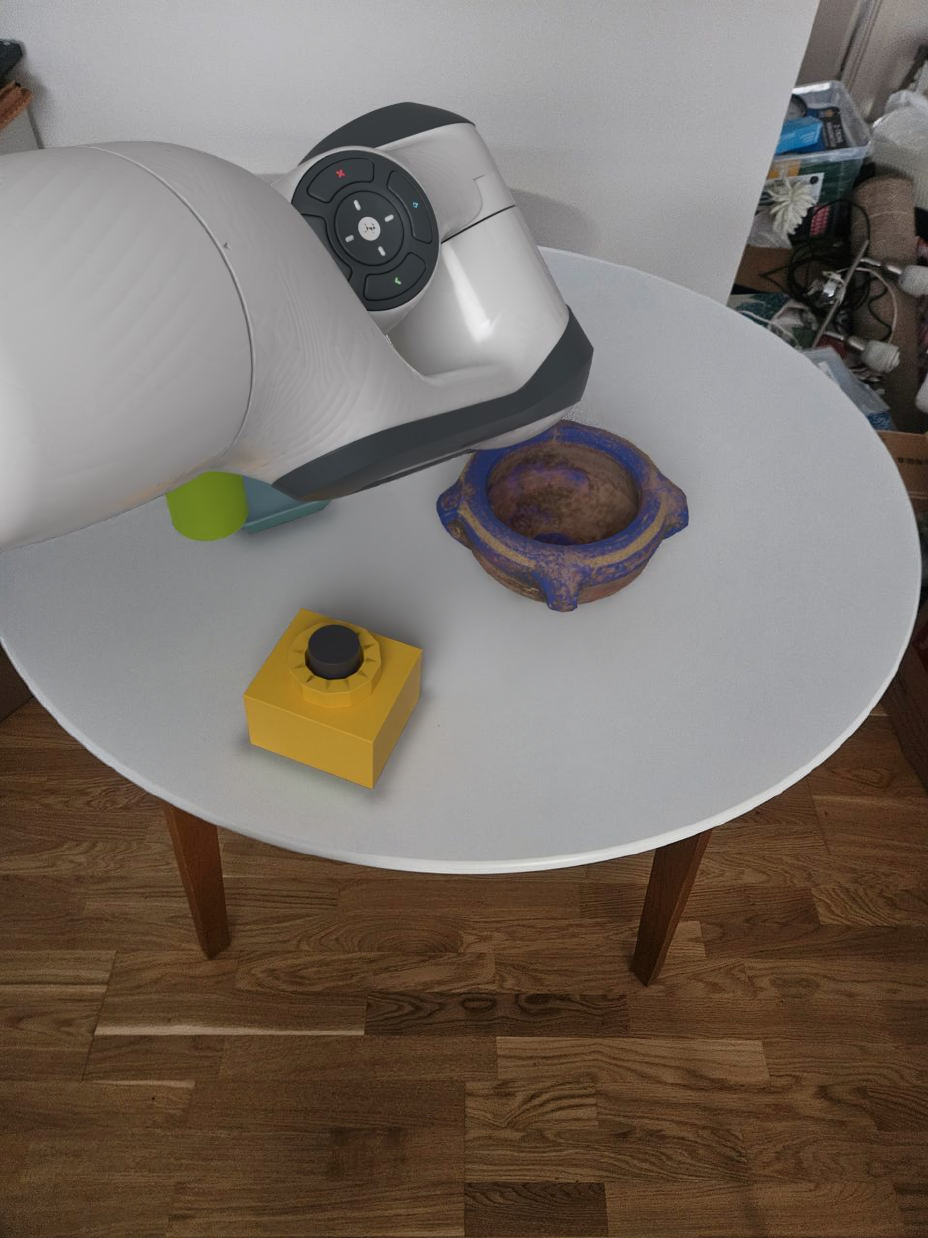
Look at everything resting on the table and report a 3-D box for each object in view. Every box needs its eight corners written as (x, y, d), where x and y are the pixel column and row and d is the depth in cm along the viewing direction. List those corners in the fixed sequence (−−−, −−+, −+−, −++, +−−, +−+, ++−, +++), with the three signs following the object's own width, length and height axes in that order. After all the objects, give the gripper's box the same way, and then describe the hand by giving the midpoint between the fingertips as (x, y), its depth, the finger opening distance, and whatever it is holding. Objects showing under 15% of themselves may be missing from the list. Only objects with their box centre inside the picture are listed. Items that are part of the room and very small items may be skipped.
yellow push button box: (250, 743, 73) (239, 679, 67) (305, 657, 79) (299, 591, 72) (372, 789, 71) (373, 728, 65) (419, 698, 77) (423, 633, 71)
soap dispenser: (150, 503, 76) (84, 272, 61) (236, 480, 79) (193, 251, 63) (169, 554, 73) (104, 324, 58) (258, 528, 75) (218, 300, 60)
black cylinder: (300, 669, 68) (298, 654, 67) (322, 633, 71) (322, 618, 69) (346, 686, 68) (346, 671, 66) (368, 649, 70) (368, 634, 69)
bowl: (409, 547, 87) (413, 461, 80) (553, 471, 96) (569, 387, 88) (544, 675, 79) (563, 593, 72) (689, 579, 88) (719, 497, 80)
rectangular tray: (142, 385, 100) (138, 364, 98) (227, 363, 103) (224, 342, 101) (244, 547, 86) (241, 527, 84) (337, 515, 90) (337, 495, 88)
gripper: (110, 455, 52) (62, 494, 63) (403, 326, 62) (316, 381, 73) (48, 343, 50) (11, 405, 62) (359, 230, 60) (276, 302, 72)
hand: (178, 391), depth 68 cm, fingers closed on soap dispenser, 6 cm apart
